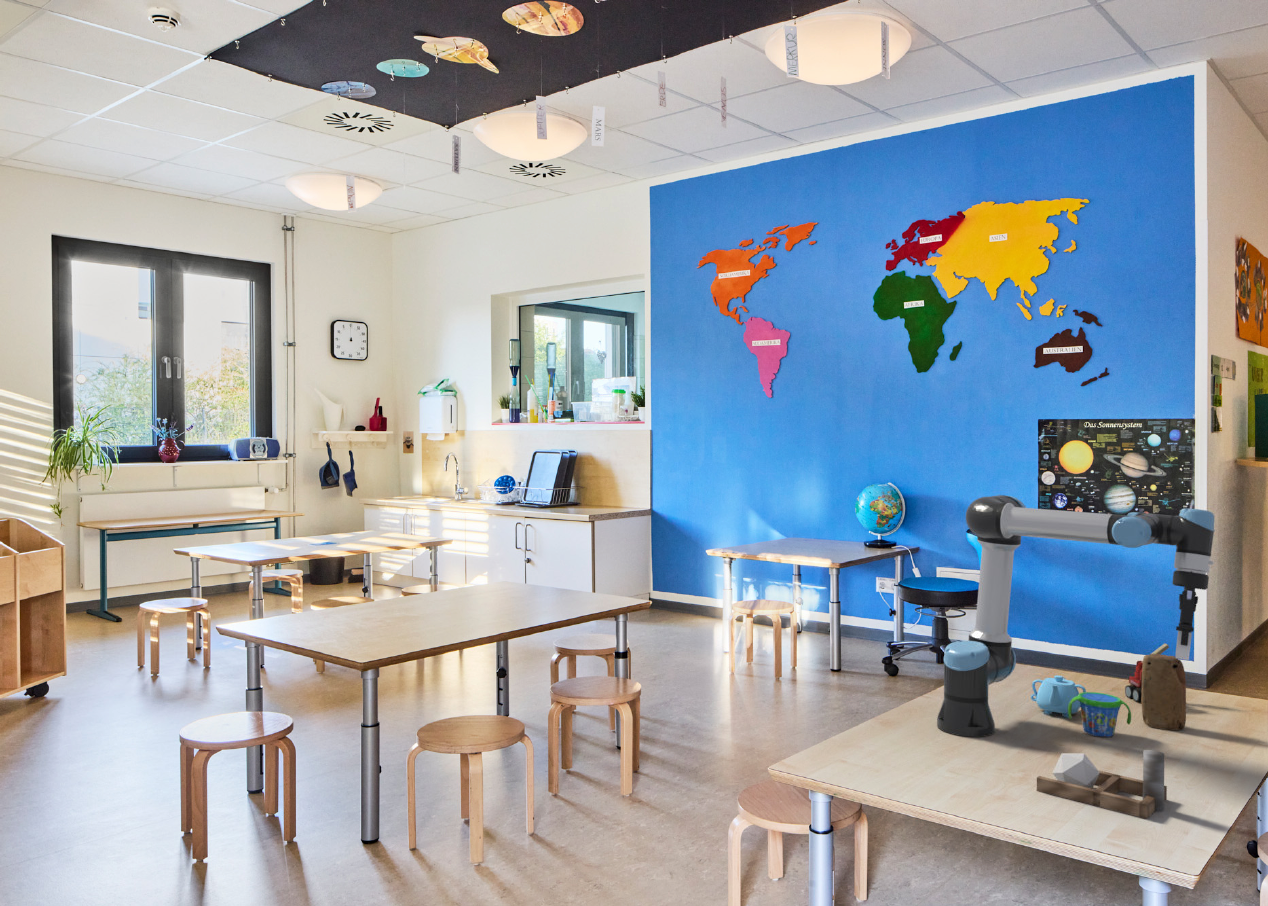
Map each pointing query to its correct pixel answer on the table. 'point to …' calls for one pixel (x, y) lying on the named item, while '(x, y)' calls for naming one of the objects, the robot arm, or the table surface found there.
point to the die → (1076, 770)
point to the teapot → (1056, 695)
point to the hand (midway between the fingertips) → (1181, 658)
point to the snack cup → (1099, 712)
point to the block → (1163, 692)
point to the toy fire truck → (1139, 678)
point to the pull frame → (1118, 789)
